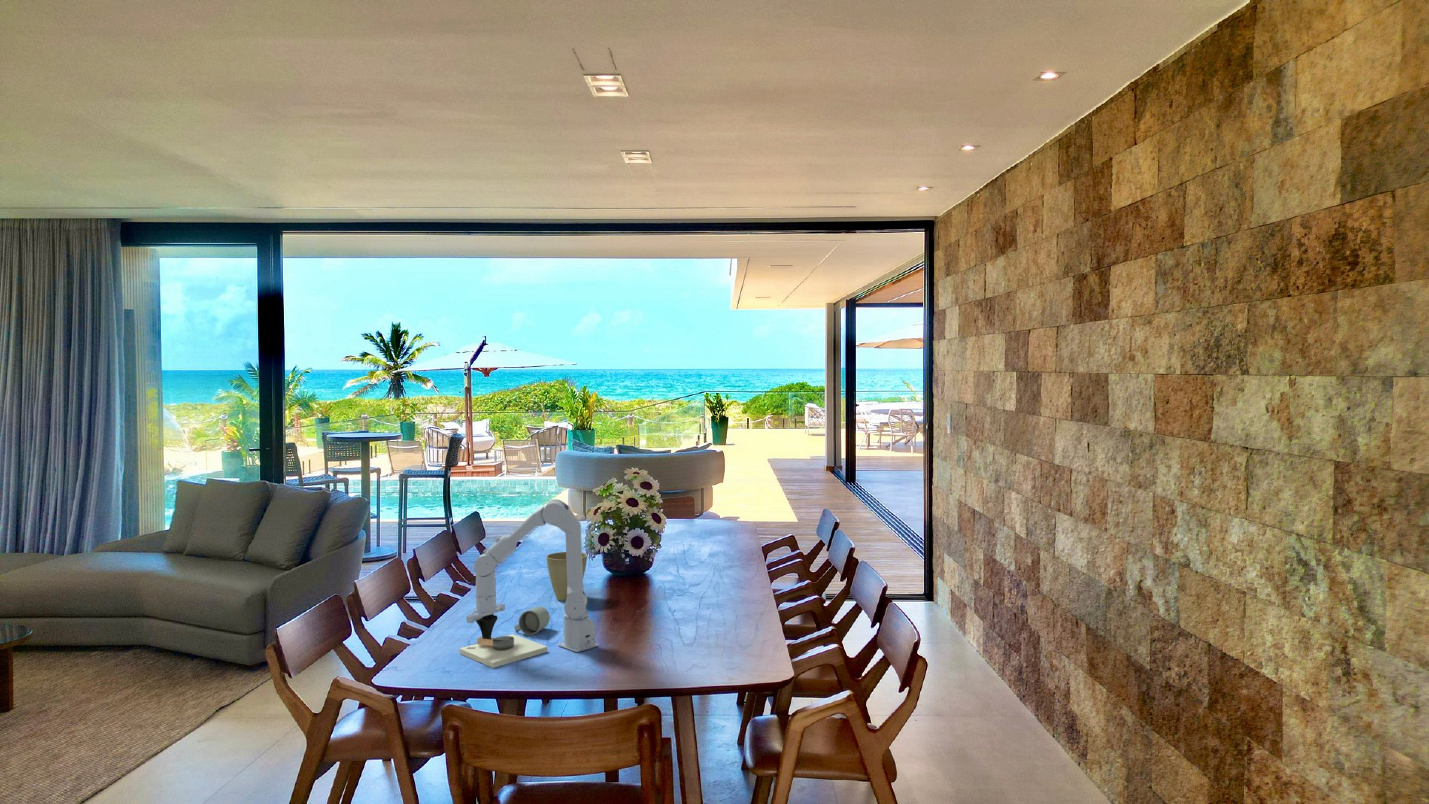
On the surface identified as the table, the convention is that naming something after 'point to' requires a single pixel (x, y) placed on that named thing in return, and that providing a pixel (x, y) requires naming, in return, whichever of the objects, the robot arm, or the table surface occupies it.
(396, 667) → the table surface
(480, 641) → the twist handle
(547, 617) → the ceramic mug
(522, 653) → the base
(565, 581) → the plant pot
